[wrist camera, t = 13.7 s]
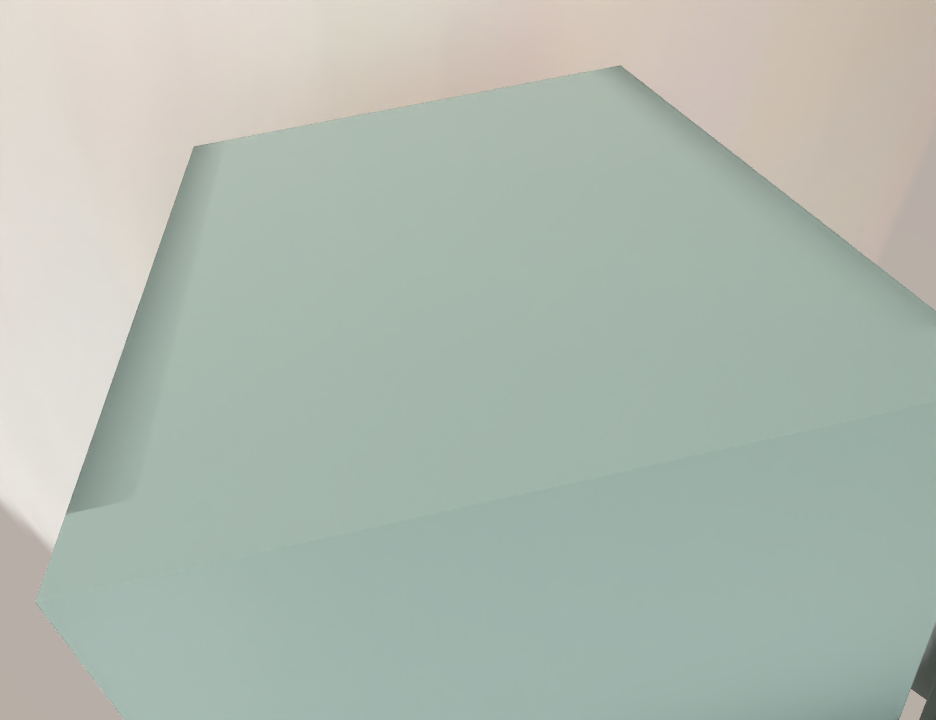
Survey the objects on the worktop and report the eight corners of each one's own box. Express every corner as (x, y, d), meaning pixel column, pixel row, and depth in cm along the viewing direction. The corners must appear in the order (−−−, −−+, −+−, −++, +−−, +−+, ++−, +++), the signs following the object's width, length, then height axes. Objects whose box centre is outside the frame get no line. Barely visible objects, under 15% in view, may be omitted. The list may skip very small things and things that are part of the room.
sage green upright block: (194, 146, 12) (34, 602, 5) (620, 65, 13) (1025, 381, 5) (349, 582, 19) (375, 1050, 12) (627, 519, 19) (818, 935, 12)
